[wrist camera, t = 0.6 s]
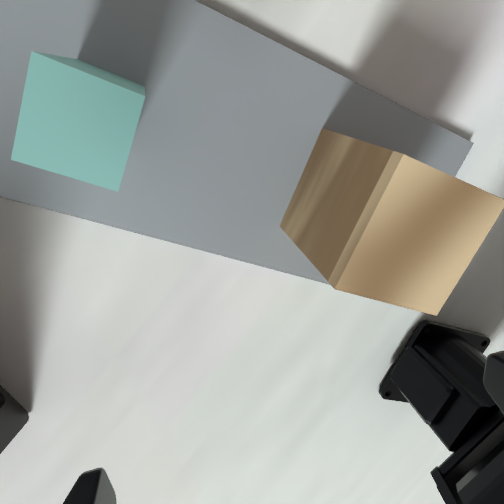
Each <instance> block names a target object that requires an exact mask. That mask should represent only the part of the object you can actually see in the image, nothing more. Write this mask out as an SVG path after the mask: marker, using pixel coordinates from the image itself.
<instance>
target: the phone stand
mask: <svg viewBox="0 0 504 504" xmlns="http://www.w3.org/2000/svg"><path fill="white" fill-rule="evenodd" d="M28 419H29V416H28V413H27V411H26V410H25V409H24V408H23V407H22V406H21V405H20V404H19V403H18V402H17V401H16V400H15V399H14V398H13V397H12V396H11V395H10V394H9V393H8V392H7V391H6V390H5V389H4V388H3V387H2V386H1V385H0V454H1V452H2V451H3V450H4V449H5V448H6V446H7V445H8V444H9V443H10V442H11V441H12V439H13V438H14V437H15V436H16V435H17V433H18V432H19V431H20V430H21V429H22V427H23V426H24V425H25V424H26V423H27V421H28Z"/></svg>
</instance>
